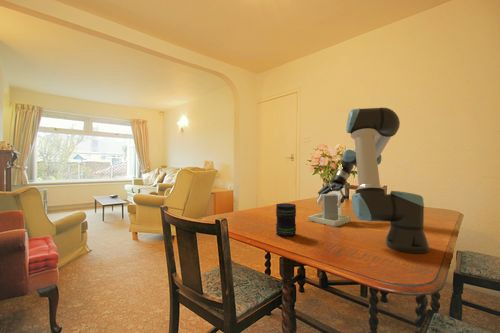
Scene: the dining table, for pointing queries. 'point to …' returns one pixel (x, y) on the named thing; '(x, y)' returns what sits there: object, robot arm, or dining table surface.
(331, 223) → the sage tray
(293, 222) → the storage jar
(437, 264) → the dining table surface
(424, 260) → the dining table surface
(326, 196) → the skincare box
